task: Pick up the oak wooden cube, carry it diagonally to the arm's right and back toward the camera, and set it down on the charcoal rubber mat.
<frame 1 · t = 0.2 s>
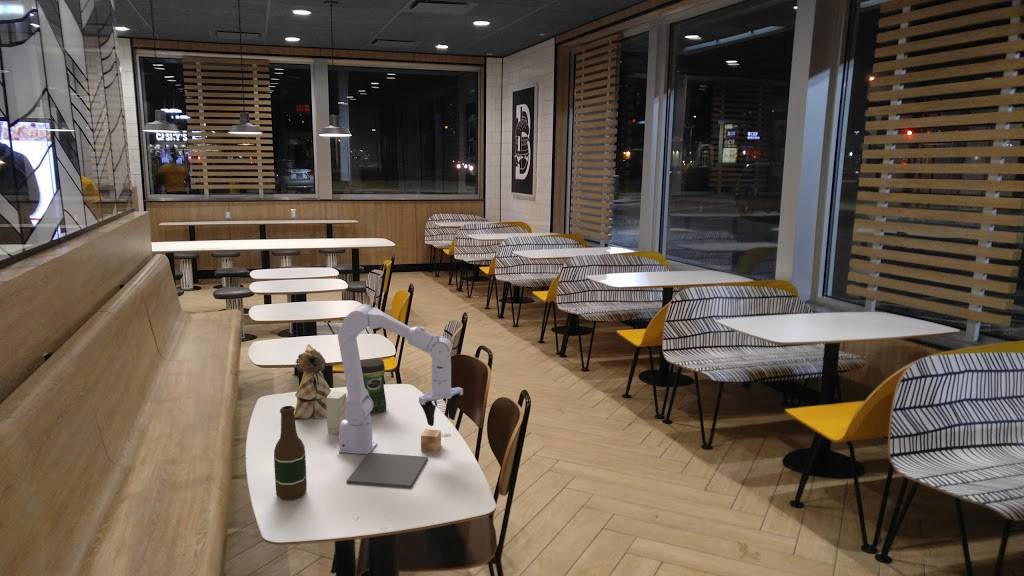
hand: (441, 421, 204), 10 cm above the table, tool pointing down, fingers open, 7 cm apart
skincare box: (337, 431, 220), on the table
oak cube: (431, 448, 209), on the table
beer bottle: (291, 494, 179), on the table
plush toy: (315, 414, 235), on the table
charcoal mat: (388, 470, 193), on the table
coffee jar: (372, 411, 238), on the table
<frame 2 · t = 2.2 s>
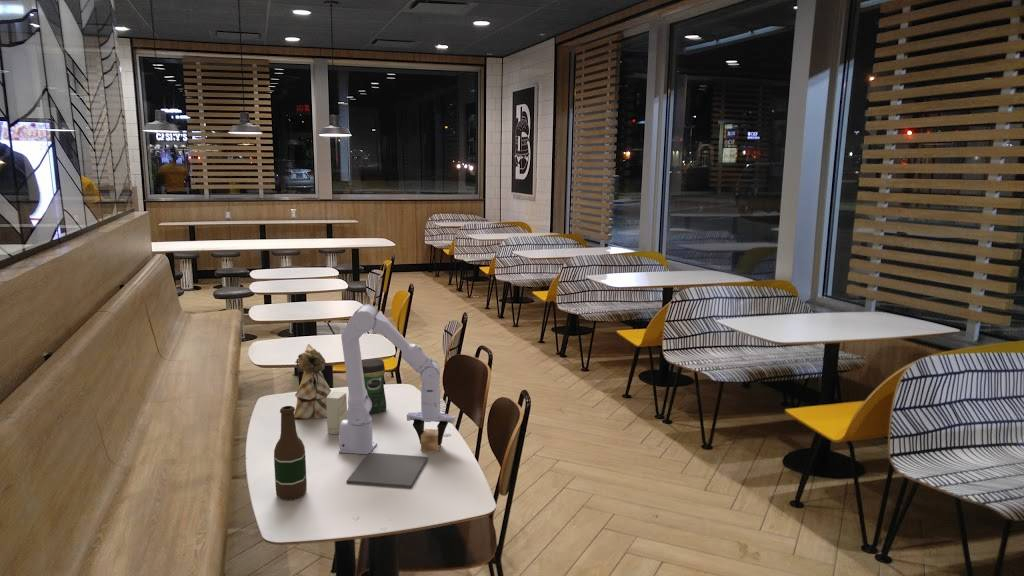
hand: (431, 443, 208), 1 cm above the table, tool pointing down, fingers closed on oak cube, 5 cm apart
oak cube: (431, 447, 209), on the table, touching gripper
everything else where it was.
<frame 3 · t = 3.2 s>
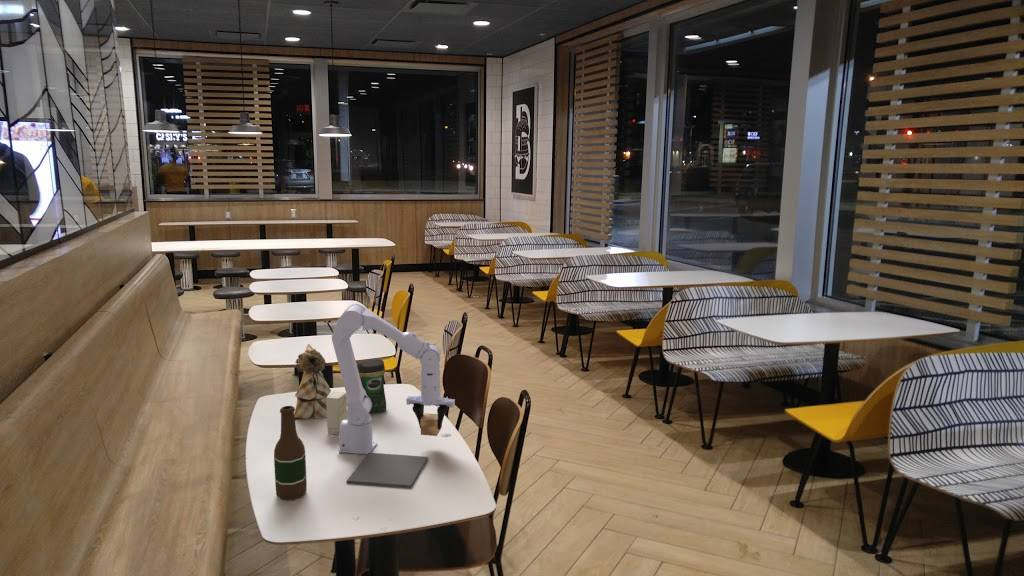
hand: (430, 427, 207), 7 cm above the table, tool pointing down, fingers closed on oak cube, 5 cm apart
oak cube: (430, 432, 208), point 5 cm above the table, touching gripper
everything else where it was.
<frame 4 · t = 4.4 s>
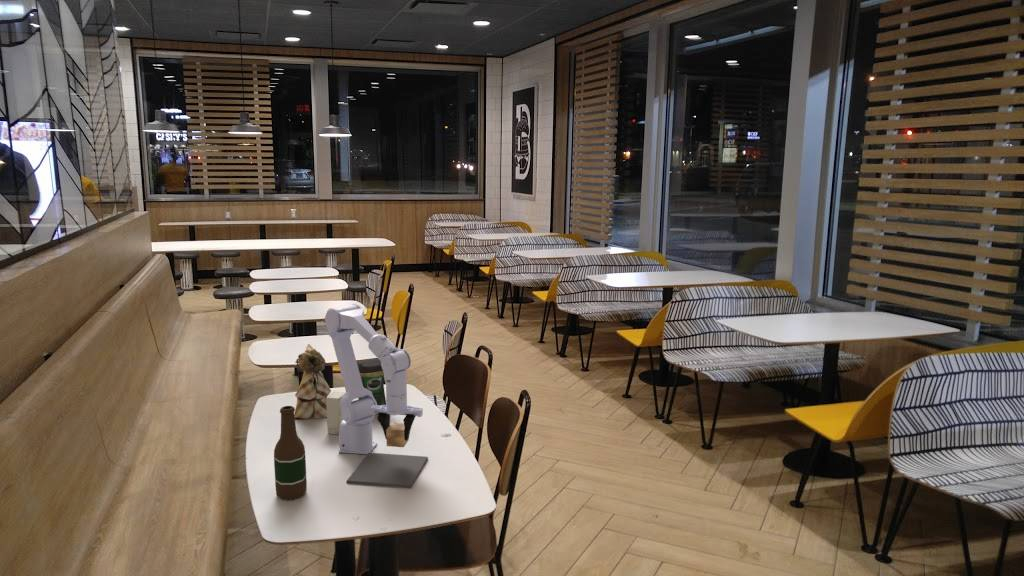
hand: (397, 438, 194), 8 cm above the table, tool pointing down, fingers closed on oak cube, 5 cm apart
oak cube: (397, 443, 195), point 7 cm above the table, touching gripper
everything else where it was.
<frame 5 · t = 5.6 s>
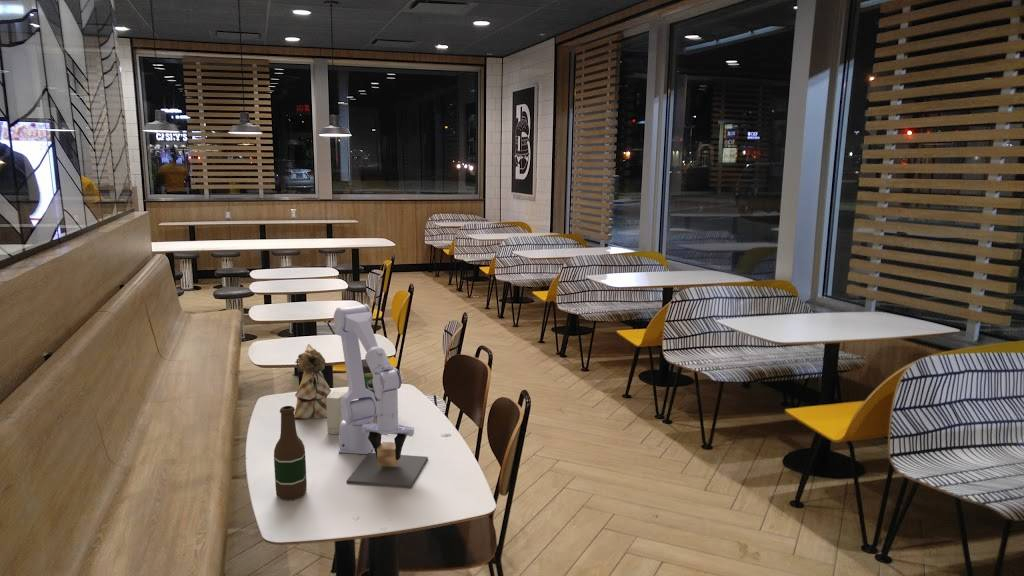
hand: (388, 457, 192), 4 cm above the table, tool pointing down, fingers closed on oak cube, 5 cm apart
oak cube: (388, 462, 193), point 2 cm above the table, touching gripper
everything else where it was.
when the fingers open (4 cm above the table, at t = 6.5 s): oak cube drops 2 cm, resting on charcoal mat.
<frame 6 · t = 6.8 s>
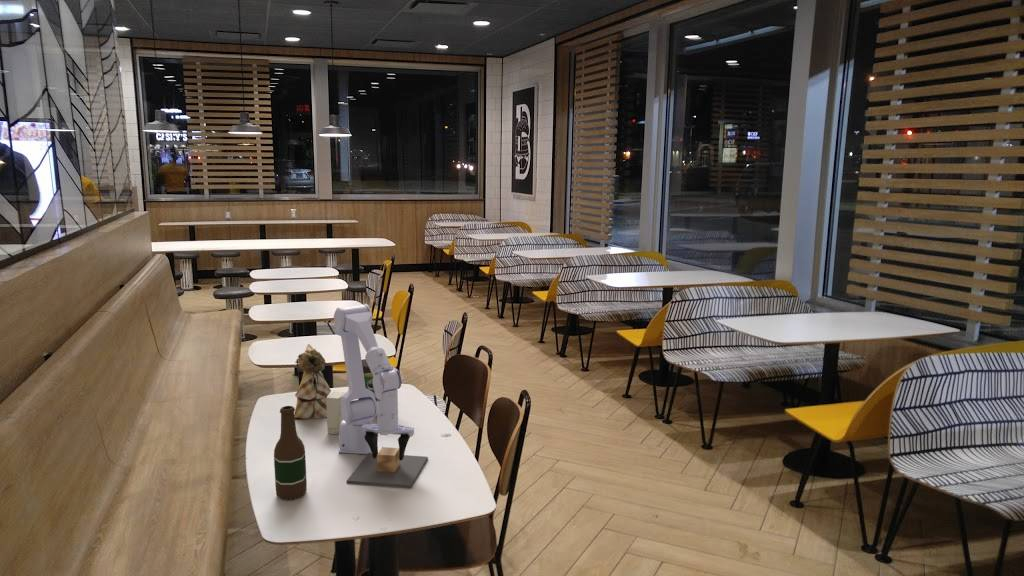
hand: (388, 457, 192), 4 cm above the table, tool pointing down, fingers open, 7 cm apart
oak cube: (388, 467, 193), point 1 cm above the table, touching charcoal mat
everything else where it was.
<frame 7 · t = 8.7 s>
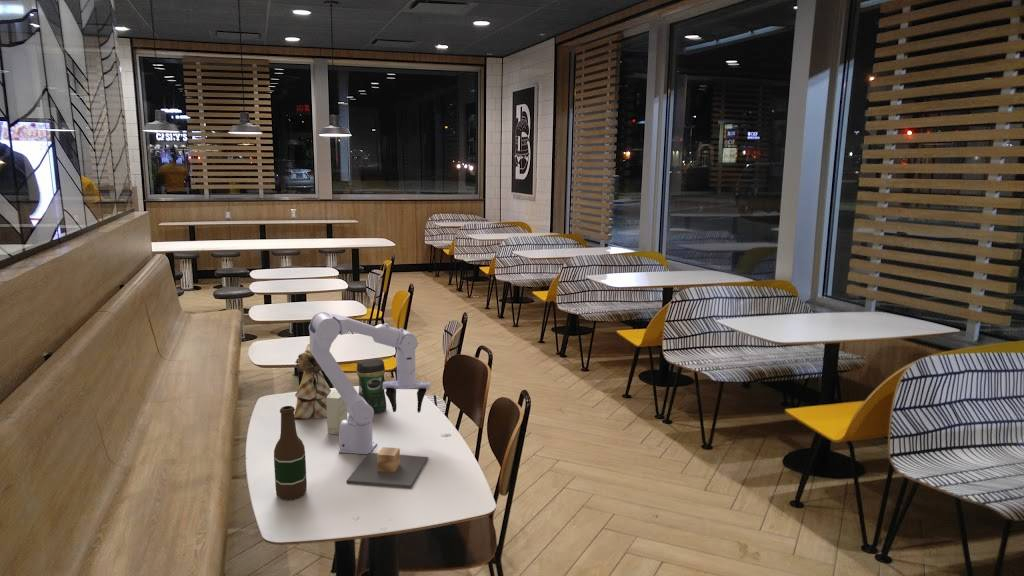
hand: (406, 411, 213), 9 cm above the table, tool pointing down, fingers open, 7 cm apart
nothing on the table moved.
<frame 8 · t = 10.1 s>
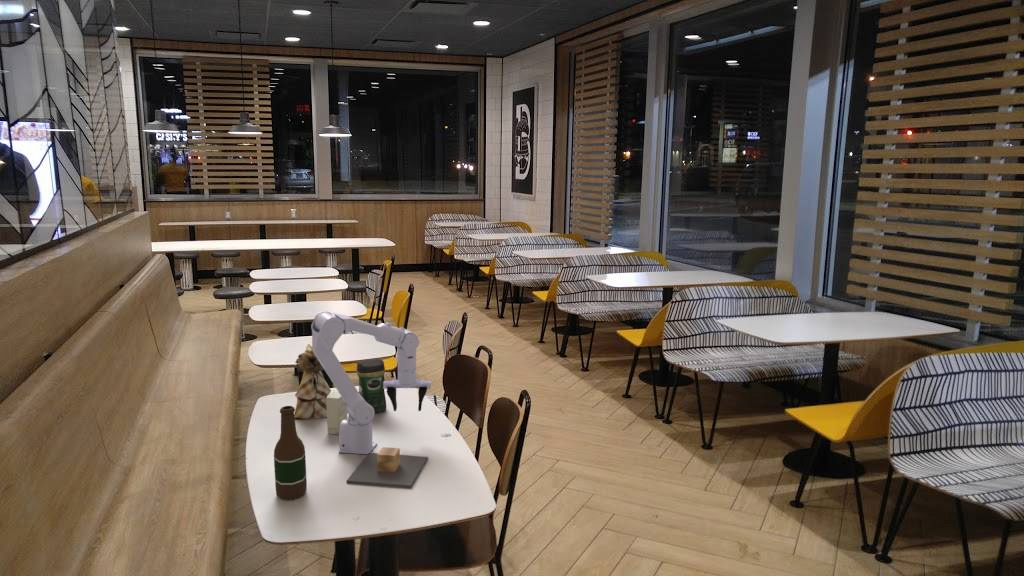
hand: (407, 409, 214), 9 cm above the table, tool pointing down, fingers open, 7 cm apart
nothing on the table moved.
at the end: oak cube inside the target area on the charcoal mat (0.2 cm from its centre), point 0.8 cm above the charcoal mat's base; oak cube tilted 0°; the gripper is holding nothing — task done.
